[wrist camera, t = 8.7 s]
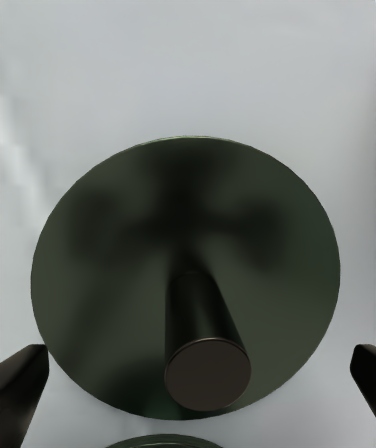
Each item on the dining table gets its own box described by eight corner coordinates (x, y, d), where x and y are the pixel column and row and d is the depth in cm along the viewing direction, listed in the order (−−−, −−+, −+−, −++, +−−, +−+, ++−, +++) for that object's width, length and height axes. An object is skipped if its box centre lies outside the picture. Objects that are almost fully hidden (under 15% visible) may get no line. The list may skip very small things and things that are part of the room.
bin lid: (52, 403, 12) (-26, 562, 7) (32, 125, 9) (-119, 78, 4) (299, 397, 14) (376, 529, 9) (351, 151, 11) (513, 138, 6)
